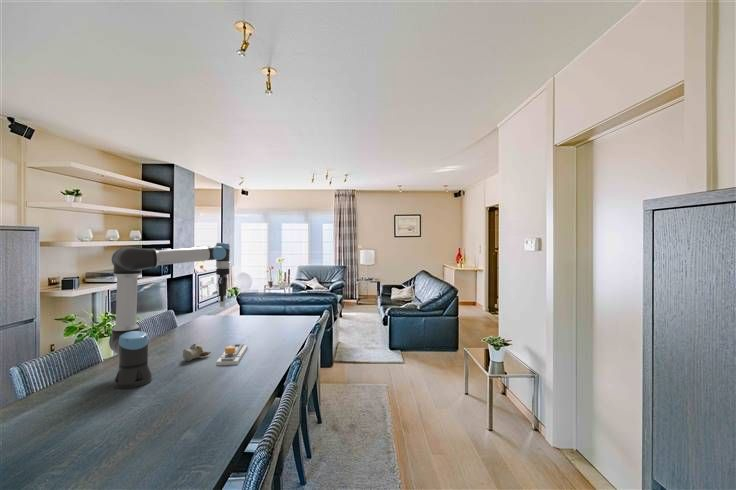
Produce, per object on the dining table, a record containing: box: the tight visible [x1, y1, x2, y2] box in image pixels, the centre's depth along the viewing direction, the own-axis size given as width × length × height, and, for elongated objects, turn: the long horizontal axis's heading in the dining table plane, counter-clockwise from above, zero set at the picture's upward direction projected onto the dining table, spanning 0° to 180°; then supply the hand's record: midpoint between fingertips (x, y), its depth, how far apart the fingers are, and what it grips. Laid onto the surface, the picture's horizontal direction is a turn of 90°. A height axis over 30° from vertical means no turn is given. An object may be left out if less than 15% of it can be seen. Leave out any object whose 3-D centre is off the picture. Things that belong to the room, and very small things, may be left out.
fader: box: [224, 346, 236, 357], centre depth 202 cm, size 3×5×5 cm, turn 99°
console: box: [216, 343, 249, 366], centre depth 208 cm, size 30×11×3 cm, turn 9°
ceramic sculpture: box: [182, 343, 212, 362], centre depth 204 cm, size 11×9×15 cm
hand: (222, 306), depth 214 cm, fingers closed
